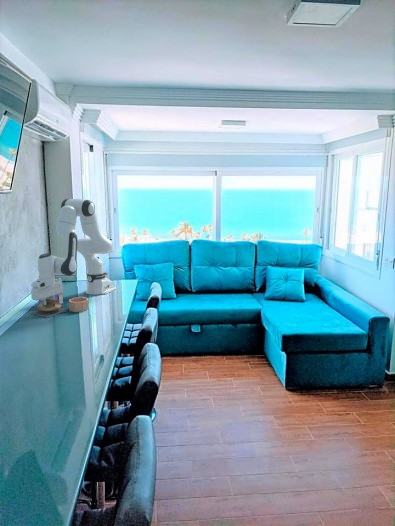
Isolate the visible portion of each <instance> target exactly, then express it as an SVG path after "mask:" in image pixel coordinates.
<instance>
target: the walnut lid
mask: <svg viewBox="0 0 395 526" xmlns="http://www.w3.org/2000/svg"><path fill="white" fill-rule="evenodd" d="M46 302H48V304H47V305H44V302H43V304H40V305H39V304H38V305H37V306H36V311H37V310H39V311H53V310H57V309H59V308H63V307H62V305H63V303H62V304H61V303H57V302H55V300H51V299H46Z"/></svg>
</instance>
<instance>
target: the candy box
mask: <svg viewBox="0 0 395 526" xmlns="http://www.w3.org/2000/svg"><path fill="white" fill-rule="evenodd" d="M51 298H52V297H51V296H50V297H47V298H46V299H51ZM63 299H64V298H63V293H60V294H57V295H55V299H54V300H55V302H57V303H61V304H62V305H63V304H64V300H63ZM40 304H43V301H42V299H40V300H38V305H40Z"/></svg>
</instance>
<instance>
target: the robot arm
mask: <svg viewBox="0 0 395 526" xmlns="http://www.w3.org/2000/svg"><path fill="white" fill-rule="evenodd" d="M77 217H79V220H80V226H81V229H82V233H83V234H84V235H85V236H87V237H83V238H79V239H78V235H77V233H76V225H77ZM98 221H99V220H98V217H97V213H96V205H95V203H94V202H93V200H89V199H84V198H65V199H64V200H63V201H62V202H61V204H60V211H59V213H58V216H57V220H56V224H55V232H56V233H57V235H58V236H59V237H60V238H62V239H63V240H64V241H65V242H66V255H65V256H66V257H59V256H57V255H56V256H55V255H53V254H52V253H49V252H48V253H47V252H46V253H42V254H40V255H39V256H38V259H37V270H38V273H39V274H38V278H37V279H36V280H34V281H33V282H32V283H31V284H30V285H31V290H30V292H31V293H30V294H31V296H30V297H31V300H33V301H39V300H40V299H42V301H43V302H44V305H47V304H48V302H46V298H47V297H50V296H51V297H52V298H51V300H54V299H55V295H57V294H60V293H62V294H63V293H64V285H63V279H62V278H56V274H59V275H63V276H64V275H65V276H68V277H71V276H72V275H74V274H75V273H76V272H77V270H78V261H77V257H78V254H77V253H79V254H80V255H82V257H83V258H84V260H85V263H86V271H87V272H86V279H87V281H86V291H85V293H86V294H87V295H91V296H93V295H94V296H95V295H107V294H109V293H111V292H113V291H115V290H117V286H116V287H115V286H114V284H113V281H112V280H110V278H108V277H106V276H108V275H109V273H108V272H106V271H105V272H104V262H103V260H102V259H100V258H98V257H97V255H105V254H110V253H111V252H112V250H113V243H112V241H111V239H109V238H107V237H106V236H105V235H104V234H103V233H102V231H101V229H100V226H99V222H98Z"/></svg>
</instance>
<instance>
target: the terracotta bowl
mask: <svg viewBox="0 0 395 526" xmlns="http://www.w3.org/2000/svg"><path fill="white" fill-rule="evenodd" d="M68 305H69V306H68V307H69V308H68V310H69V312H72V313H80V312H79V311H83V312H85V311H84V310H86V311H88V310H89V309H88V308H89V298H88V297H85V296H78V297H76V296H75V297H73V298H69V299H68ZM87 309H88V310H87Z"/></svg>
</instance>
